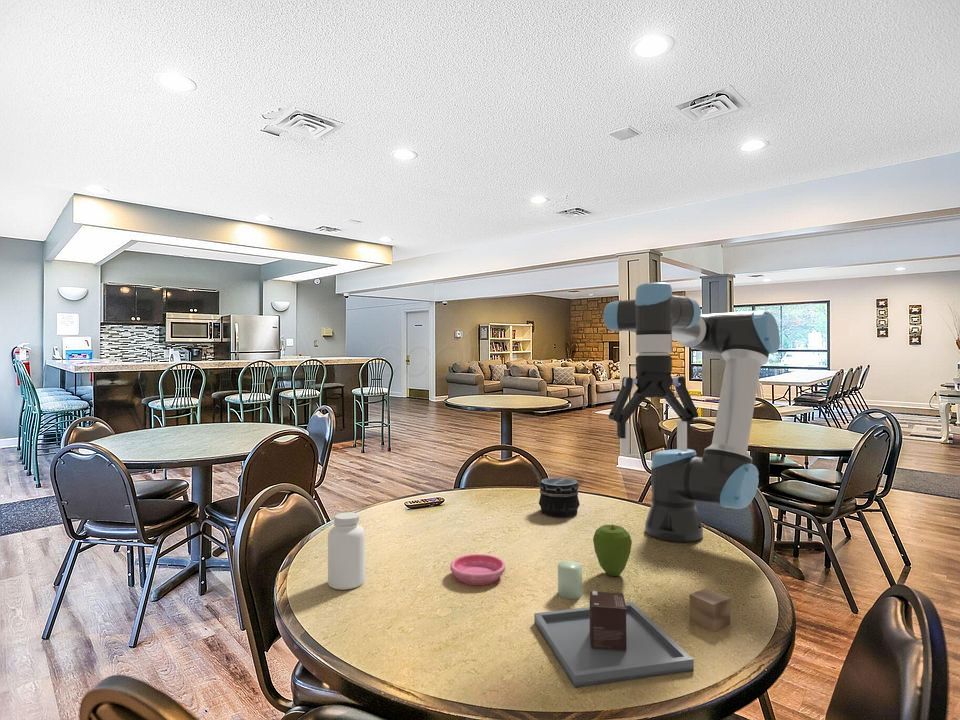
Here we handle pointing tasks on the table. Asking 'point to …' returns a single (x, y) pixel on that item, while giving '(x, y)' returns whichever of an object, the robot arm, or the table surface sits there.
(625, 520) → the table surface
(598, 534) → the apple
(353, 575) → the pill bottle
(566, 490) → the container
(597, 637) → the box
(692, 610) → the walnut block
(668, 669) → the tray
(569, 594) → the sage canister
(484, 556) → the pink shallow round dish
